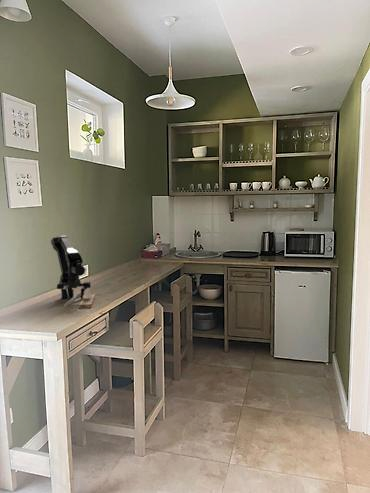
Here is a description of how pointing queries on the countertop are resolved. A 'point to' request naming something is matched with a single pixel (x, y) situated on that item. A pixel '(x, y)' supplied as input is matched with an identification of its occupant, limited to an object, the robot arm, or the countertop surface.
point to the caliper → (73, 299)
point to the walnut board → (87, 301)
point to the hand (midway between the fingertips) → (74, 299)
